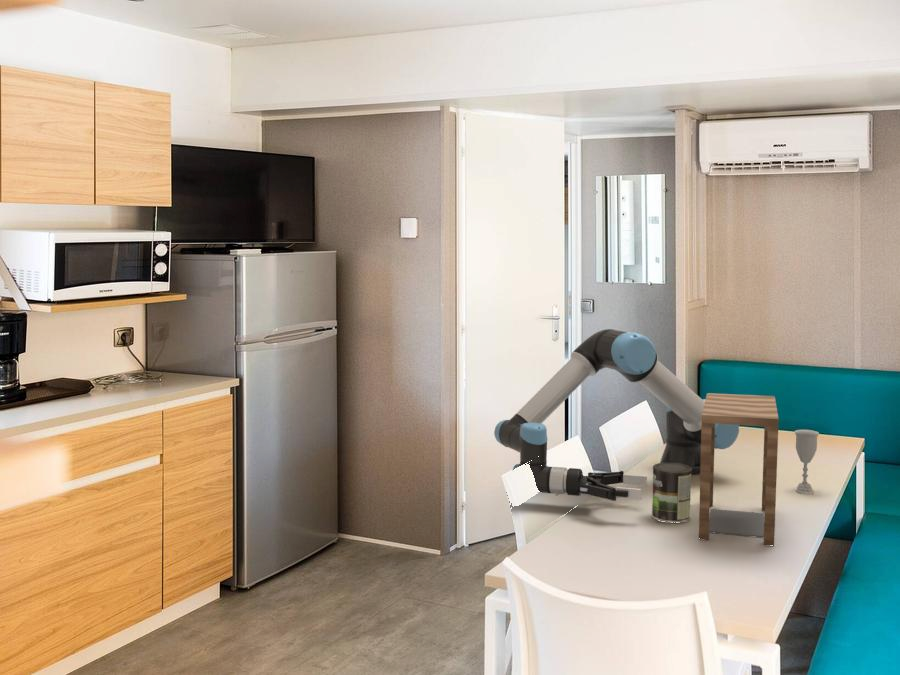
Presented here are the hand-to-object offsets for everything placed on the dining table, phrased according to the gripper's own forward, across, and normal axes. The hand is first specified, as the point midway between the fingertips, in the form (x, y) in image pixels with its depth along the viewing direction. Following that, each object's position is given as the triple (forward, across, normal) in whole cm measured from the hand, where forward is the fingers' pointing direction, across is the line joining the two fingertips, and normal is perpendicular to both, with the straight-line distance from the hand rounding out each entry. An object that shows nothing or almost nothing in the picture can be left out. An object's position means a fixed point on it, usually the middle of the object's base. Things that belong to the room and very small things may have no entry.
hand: (644, 487), depth 248 cm
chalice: (+43, -38, -8) cm, 58 cm away
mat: (+24, 0, -8) cm, 26 cm away
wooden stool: (+24, 0, -8) cm, 26 cm away
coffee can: (+7, 0, -8) cm, 11 cm away
